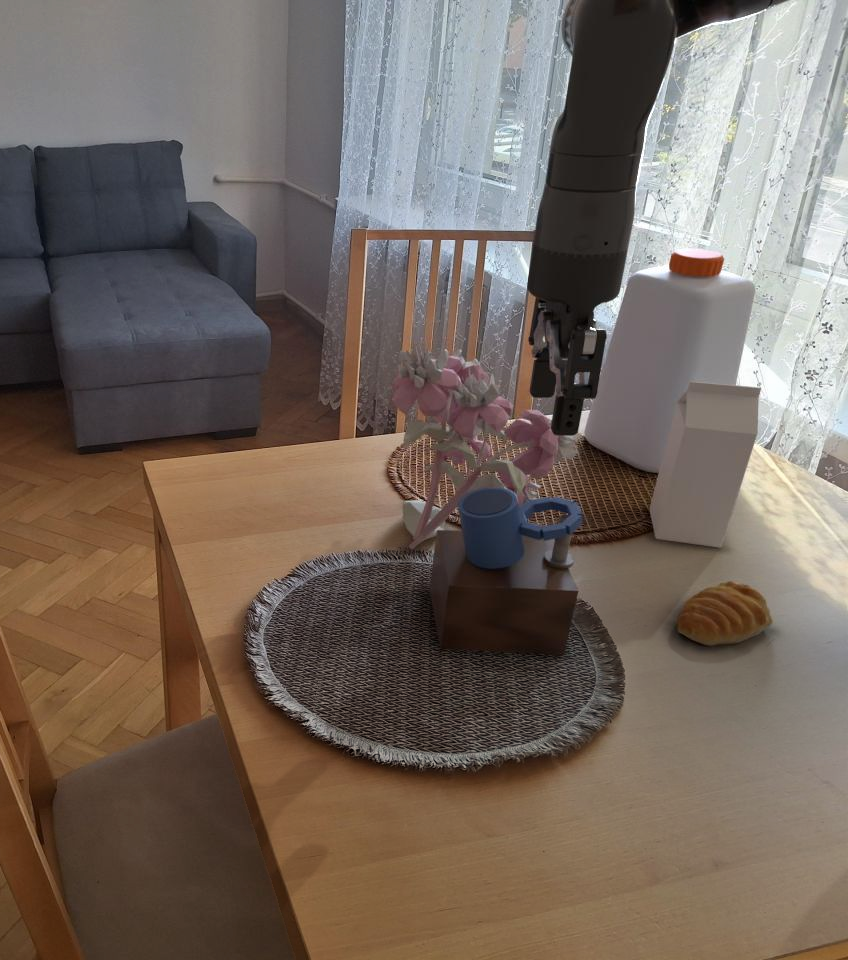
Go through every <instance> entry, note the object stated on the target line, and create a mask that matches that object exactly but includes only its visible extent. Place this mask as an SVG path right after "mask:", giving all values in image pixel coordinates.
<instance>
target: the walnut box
mask: <svg viewBox="0 0 848 960" xmlns="http://www.w3.org/2000/svg"><path fill="white" fill-rule="evenodd" d="M568 517H569V515H568V514H561V515H559V518H558V521H557V522H558V523H557V524H559V523H562V522H563V521H564V520H565V519H567V518H568ZM572 535H573V533H572V534H571V535H569V534H567V537H562V538H556V539H550V540H544V539H543V538H542V539H541V540H537V539H534V538H530V537H527V536H524V535H523V539H524V546H525V553H524V555H523V557H522V558H521V559H520V560H519V561H518V562H516V563H514V564H512V565H510V566H507V567H503V568H497V569H488V568H482V567H478V566H476V565H474V564H472V563H471V562H470V561H469V560H468V558H467V555H466V549H465V543H464V538H463V532H462V530H452V529H451V530H447V529H445V530H437V533H436V536H435V544H434V551H433V559H432V565H431V566H432V567H431V575H430V583H429V595H430V600H431V605H432V610H433V611H432V612H433V615H434V621H435V626H436V632H437V637H438V644H439V647H440V650H456V651H475V652H477V651H478V652H495V653H512V654H513V653H514V654H531V655H533V654H534V655H553V656H564V655H565V654H566V653H565V652H566V648H567V644H568V639H569V635H570V631H571V626H572V622H573V617H574V612H575V608H576V605H577V599H578V595H579V589H578V586H577V585H576V582H575V579H574V578H573V575H572V573H571V571H570V568H571V567H573V565H574V563H575V558H574V556H573V555H572V554H570V553H569V550H570V549H569V548H570V545H571V539H572Z"/></svg>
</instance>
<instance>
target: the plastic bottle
mask: <svg viewBox="0 0 848 960" xmlns="http://www.w3.org/2000/svg"><path fill="white" fill-rule="evenodd" d="M724 263H725V257H724V255H723V254H722V253H721V252H718V251H716V250H711V249H706V248H700V247H699V248H696V247H684V248H679V249H676V250H674V251H672V253H671V255H670V259H669V263H668V264H667V265H660V266H655V267H651V268H646V269H642V270H639V271H638V270H637V271H636V272H634V273H633V274H631V275H630V277H629V278H628V280H627V283H626V287H625V290H624V292H623V297H622V299H621V302H620V303H621V304H620V307H619V310H618V314H617V317H616V320H615V324H614V327H613V331H612V335H611V337H610V340H609V344H608V348H607V351H606V355H605V359H604V361H603V364H602V367H601V372H600V378H599V384H598V390H597V395H596V398H595V399H592V402H591V406H590V409H589V413H588V417H587V421H586V423H585V426H584V431H583V434H584V438H585V439H586V441H587V442H588V443H589V444H590V445H591V446H592V447H594V448H596V449H598V450H600V451H602V452H604V453H605V454H608V455H609V456H612V457H614V458H615V459H617V460H619V461H621V462H623V463H625V464H627V465H630V466H631V467H633V468H635V469H636V470H637V469H638V470H640V471H643V472H647V473H652V474H653V473H654V474H659V470H660V466H661V462H662V459H663V455H664V451H665V447H666V443H667V439H668V436H669V432H670V428H671V424H672V420H673V416H674V413H675V409H676V405H677V402H678V400H679V399H680V398H681V397H682V396H683V394H684V393H685V392H686V391H687V389H688V385H689V382H690V381H693V382H704V383H715V384H726V385H737V382H738V376H739V371H740V368H741V362H742V358H743V352H744V348H745V343H746V338H747V333H748V328H749V323H750V319H751V314H752V309H753V304H754V299H755V295H756V286H755V283H754V282H753V281H752V280H750V279H749V278H747V277H744V276H741V275H737V274H735V273H732V272H728V271H724V270H722V269H723V265H724Z"/></svg>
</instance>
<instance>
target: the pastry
mask: <svg viewBox="0 0 848 960" xmlns="http://www.w3.org/2000/svg"><path fill="white" fill-rule="evenodd" d="M681 610H682V611H681V613H680V614H679V615H678V617H677V632H678V633H679V634H682V635H684V636H685V637H686V638H688V639H689V640H692V641H694V642H697V643H699V644H702V645H704V646H710V647H713V646H719V645H736V644H740V643H741V642H744V641H746V640H749V639H751V638H753V637H756V636H757V635H760V634H762V632H763V631H765V630H767V629H768V628H770V627H771V626H772V625H773V621H774V620H773V617H772V616H771V613H770V612H771V610H770V608H769V607H768V605H767V599H766V598H765V597H764V596H763V594H761V593H760V592H759V591H758V590H756V589H755V588H754V587H751V586H750V585H748V584H745V583H736V582H734V581H731V580H729V581H727V582H720V583H719V584H718V585H715V586H710V587H707V588H704V589H703V590H700V591H699V592H697V593H696V594H694V595H693V596H691V597H690V598H689V599H688V600H687V601H686V603H685V605H684V606H683V608H682V609H681Z"/></svg>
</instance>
